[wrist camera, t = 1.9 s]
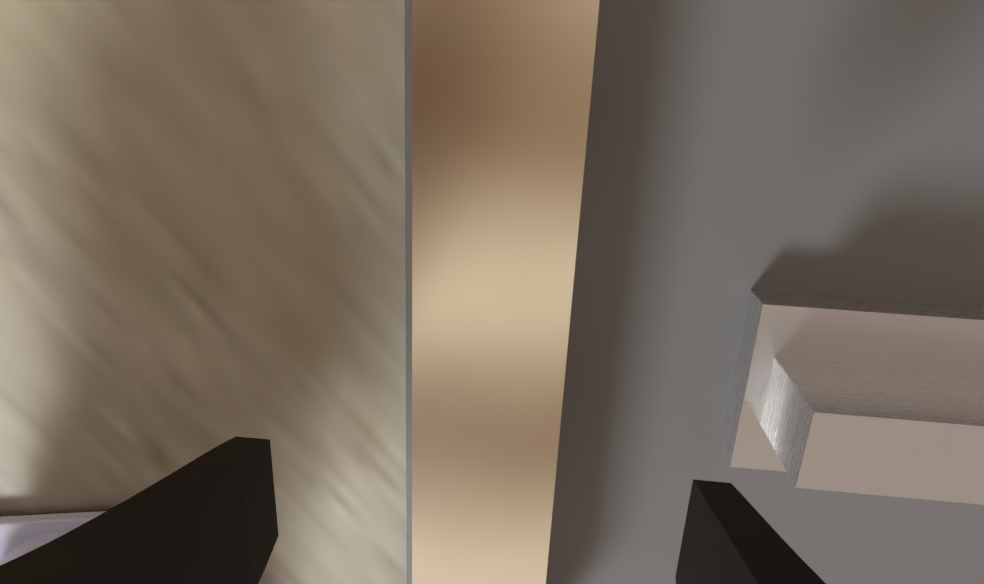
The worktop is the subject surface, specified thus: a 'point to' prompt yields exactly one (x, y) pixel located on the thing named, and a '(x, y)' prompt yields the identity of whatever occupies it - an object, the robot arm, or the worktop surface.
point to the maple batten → (493, 275)
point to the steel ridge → (861, 395)
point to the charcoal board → (751, 260)
